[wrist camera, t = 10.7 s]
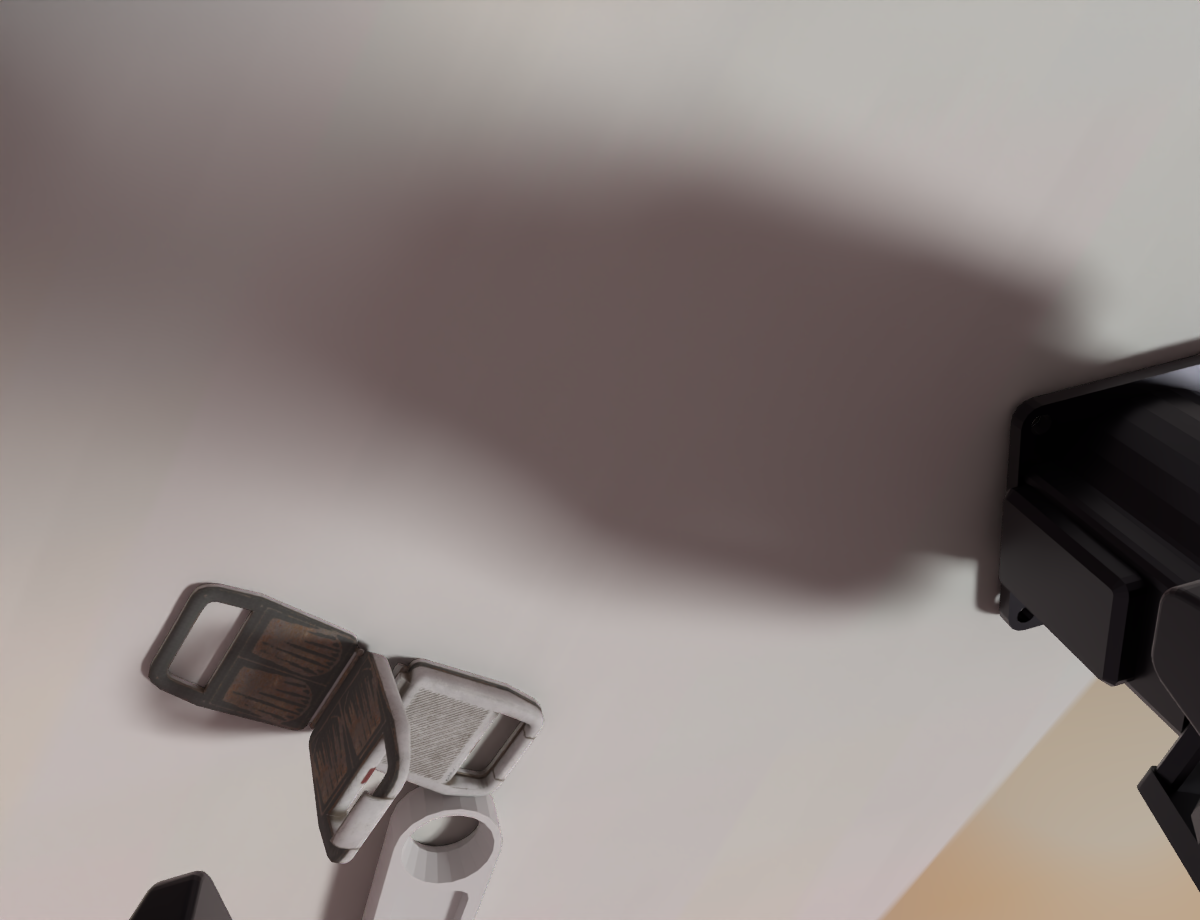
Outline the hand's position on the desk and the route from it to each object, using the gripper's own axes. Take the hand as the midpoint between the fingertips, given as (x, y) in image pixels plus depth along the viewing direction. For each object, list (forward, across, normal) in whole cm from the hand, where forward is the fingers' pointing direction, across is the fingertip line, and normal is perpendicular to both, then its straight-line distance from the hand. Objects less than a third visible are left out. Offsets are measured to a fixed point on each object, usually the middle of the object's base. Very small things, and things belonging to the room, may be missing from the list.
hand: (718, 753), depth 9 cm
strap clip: (+12, +5, +8) cm, 16 cm away
